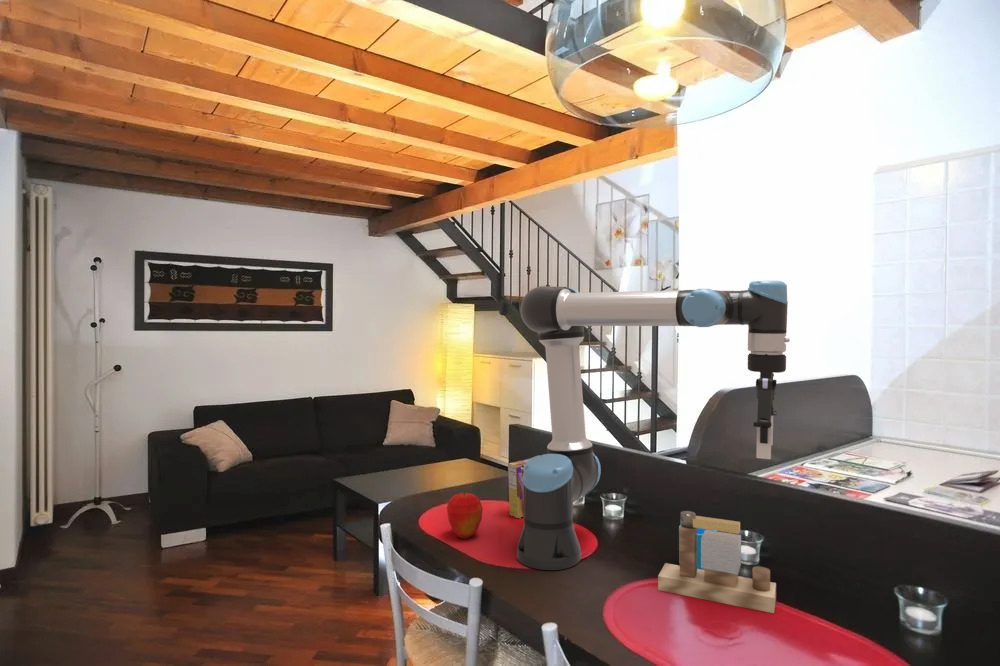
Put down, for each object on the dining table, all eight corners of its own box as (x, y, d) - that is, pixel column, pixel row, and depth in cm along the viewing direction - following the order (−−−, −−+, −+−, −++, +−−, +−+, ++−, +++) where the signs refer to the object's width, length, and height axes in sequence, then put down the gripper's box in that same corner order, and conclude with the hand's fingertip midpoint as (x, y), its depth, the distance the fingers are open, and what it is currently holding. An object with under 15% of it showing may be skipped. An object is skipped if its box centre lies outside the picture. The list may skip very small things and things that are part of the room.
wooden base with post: (658, 590, 124) (657, 527, 123) (665, 576, 130) (665, 517, 130) (774, 613, 114) (774, 545, 113) (776, 597, 120) (776, 533, 119)
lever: (679, 526, 123) (679, 514, 123) (682, 521, 126) (682, 510, 126) (738, 534, 118) (738, 522, 118) (740, 529, 121) (740, 518, 120)
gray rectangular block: (701, 567, 120) (701, 538, 120) (705, 557, 125) (705, 529, 125) (738, 574, 117) (738, 544, 117) (741, 563, 122) (740, 535, 122)
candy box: (532, 508, 176) (531, 457, 176) (541, 512, 173) (540, 460, 172) (508, 515, 171) (507, 462, 170) (517, 519, 167) (516, 465, 167)
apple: (489, 535, 156) (489, 489, 155) (465, 545, 149) (464, 498, 149) (464, 527, 162) (464, 483, 161) (440, 536, 155) (439, 491, 155)
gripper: (785, 358, 114) (783, 467, 115) (786, 349, 137) (784, 440, 138) (743, 356, 118) (741, 462, 119) (751, 348, 140) (749, 437, 141)
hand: (764, 451), depth 128 cm, fingers open, 13 cm apart
